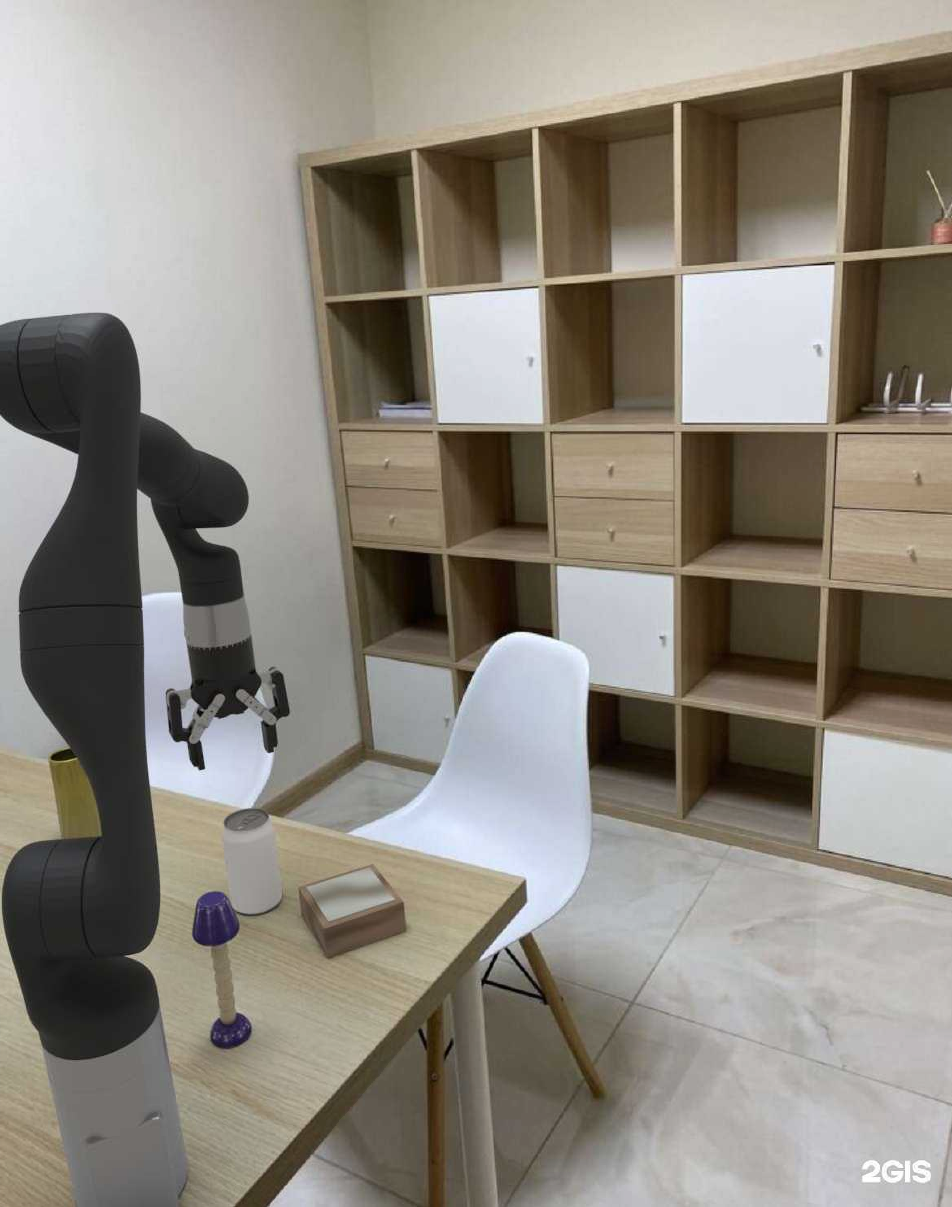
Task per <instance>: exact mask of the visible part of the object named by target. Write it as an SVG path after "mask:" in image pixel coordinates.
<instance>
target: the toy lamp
mask: <svg viewBox="0 0 952 1207" xmlns="http://www.w3.org/2000/svg"><path fill="white" fill-rule="evenodd" d="M193 915H194V917H193V922H192V929H191V935H192V939H193V940H194V943H196V944H198V945H200V946H203V947H211V949H210V952H211V953H210V956H211V958H212V959H213V961H212V967H213V971H214V981H215V984H216V987H215V988H216V989H215V992H216V995H217V997H218V998H217V1006H218V1008H219V1014H218V1015H219V1016H218V1018H217V1019H216V1020H215V1022H214V1023H213V1025H212V1027H211V1029H210V1036H209V1038H210V1041H211V1043H212V1044H213V1045H214V1046H215V1047H217V1048H221V1049H222V1048H223V1049H229V1048H235V1047H237V1046H240V1045H241V1044H243V1043H245V1042H246V1041H247V1040H248V1039H249V1038H250V1036H251V1034H252V1031H253V1030H252V1028H253V1027H252V1024H251V1022H250V1020H249V1019H248V1017H247V1016H245V1015H244V1014H243V1013H240V1012H237V1009H236V1006H235V1004H236V998H235V994H234V983H233V981H232V980H233V972H232V969H231V959H230V957H229V953H230V952H229V946H228V944H227V943H228V942H230V941H232V940H234V938H235V937H236V936H237V935H238V933H239V931H240V922H239V919H238V916H237V914H236V911H235V909H234V908H233V906H232V903H231V900H230V899H229V898H228V895H227V894H225V893H224V892H222V891H219V890H215V891H214V890H213V891H209V892H208V891H207V892H205V893H204V894H202V895H200V896H199V898H198V899H197V901H196V906H195V911H194V914H193Z"/></svg>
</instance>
